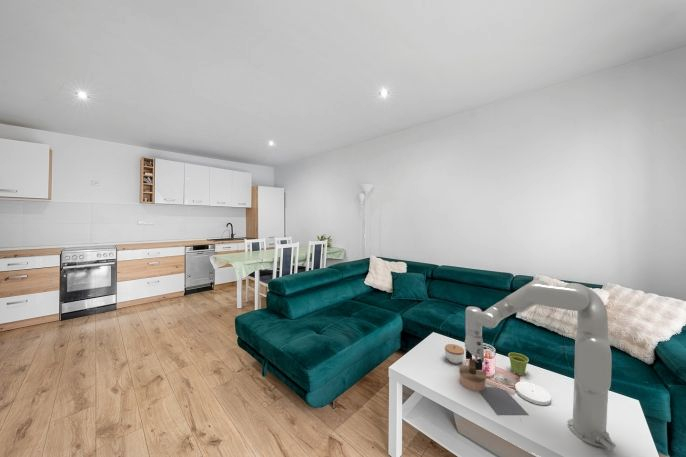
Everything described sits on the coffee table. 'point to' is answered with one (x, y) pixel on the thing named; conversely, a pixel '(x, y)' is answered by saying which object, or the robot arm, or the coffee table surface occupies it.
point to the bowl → (472, 384)
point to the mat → (502, 402)
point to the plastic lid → (533, 393)
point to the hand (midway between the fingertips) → (473, 364)
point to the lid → (472, 372)
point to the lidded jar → (454, 353)
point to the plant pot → (518, 363)
